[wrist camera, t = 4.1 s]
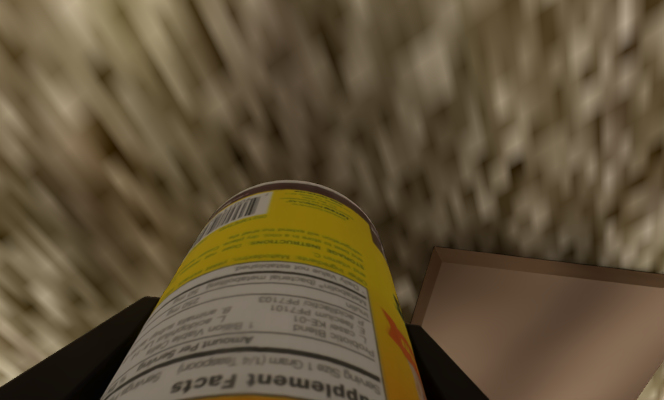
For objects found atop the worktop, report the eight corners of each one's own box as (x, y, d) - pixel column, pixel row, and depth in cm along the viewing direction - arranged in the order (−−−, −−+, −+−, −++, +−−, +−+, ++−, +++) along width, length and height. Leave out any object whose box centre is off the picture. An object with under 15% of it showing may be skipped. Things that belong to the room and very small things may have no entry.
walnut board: (685, 277, 15) (709, 293, 14) (577, 443, 19) (590, 465, 18) (434, 246, 14) (442, 262, 13) (378, 427, 18) (381, 449, 17)
